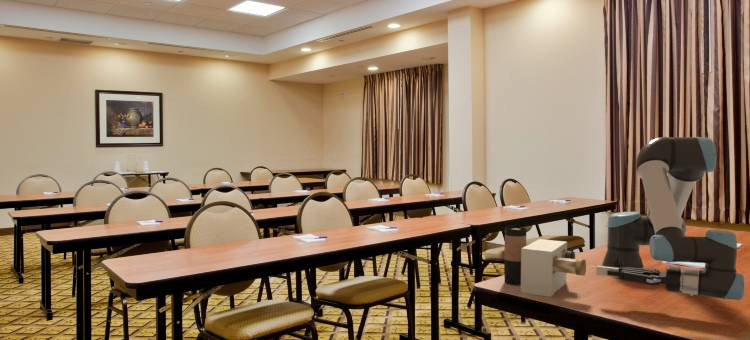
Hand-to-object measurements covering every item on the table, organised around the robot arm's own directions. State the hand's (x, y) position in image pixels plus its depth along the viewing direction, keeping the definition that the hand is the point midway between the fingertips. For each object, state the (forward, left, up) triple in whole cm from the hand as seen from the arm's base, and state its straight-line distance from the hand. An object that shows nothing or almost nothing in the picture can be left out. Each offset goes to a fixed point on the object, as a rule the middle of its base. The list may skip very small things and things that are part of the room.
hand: (596, 270), depth 171 cm
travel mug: (+18, -23, -10) cm, 31 cm away
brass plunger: (+8, -7, -2) cm, 11 cm away
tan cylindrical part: (+5, -20, -2) cm, 21 cm away
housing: (+10, -16, -10) cm, 22 cm away
